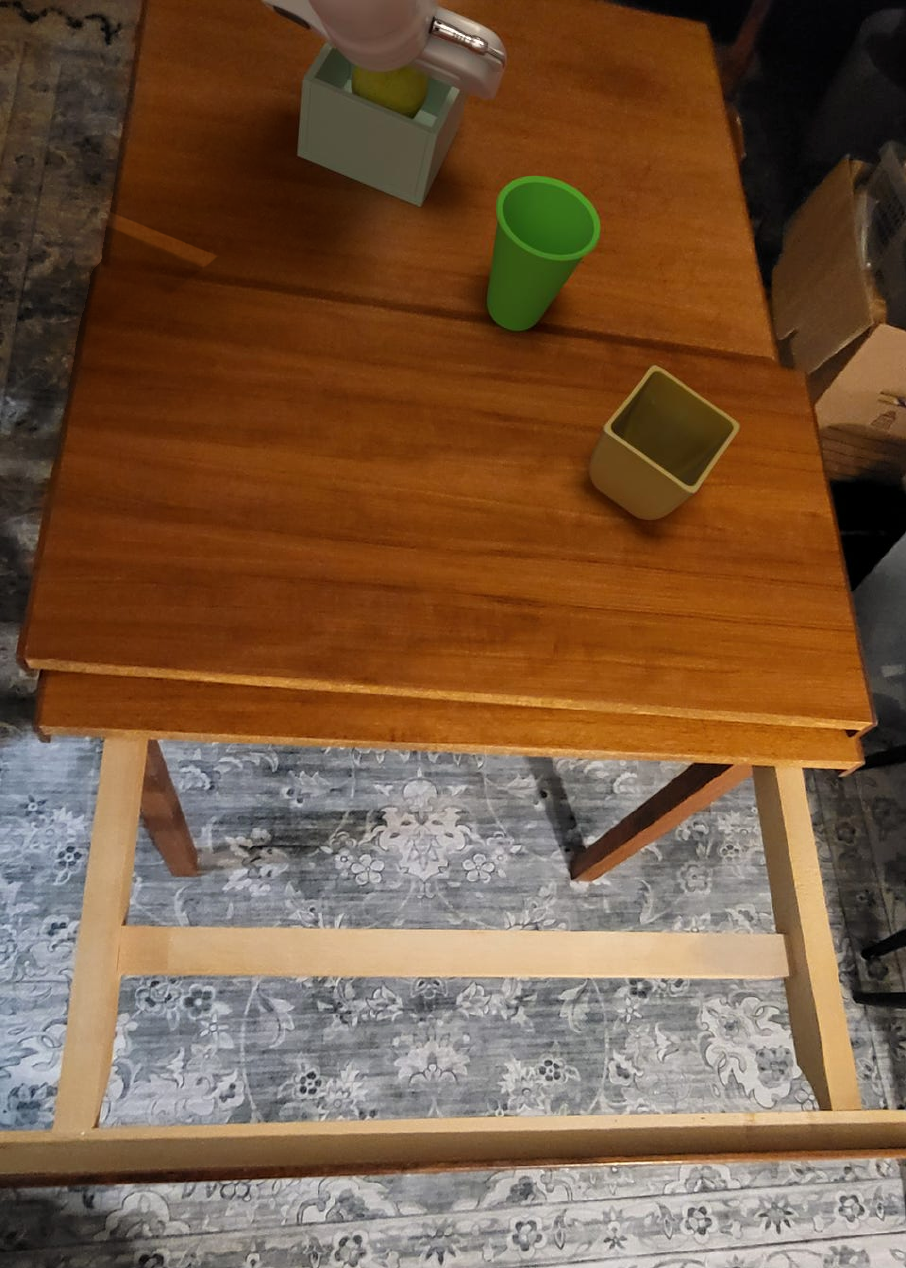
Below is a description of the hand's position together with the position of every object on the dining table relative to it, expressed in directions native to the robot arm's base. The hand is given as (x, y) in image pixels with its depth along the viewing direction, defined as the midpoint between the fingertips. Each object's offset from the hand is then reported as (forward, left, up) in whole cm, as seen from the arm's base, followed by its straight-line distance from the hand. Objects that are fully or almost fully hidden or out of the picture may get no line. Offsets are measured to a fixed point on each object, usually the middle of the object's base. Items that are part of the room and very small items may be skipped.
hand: (397, 51), depth 81 cm
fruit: (0, -1, -7) cm, 7 cm away
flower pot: (+33, -29, -9) cm, 45 cm away
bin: (0, -1, -9) cm, 9 cm away
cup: (+18, -15, -9) cm, 25 cm away
